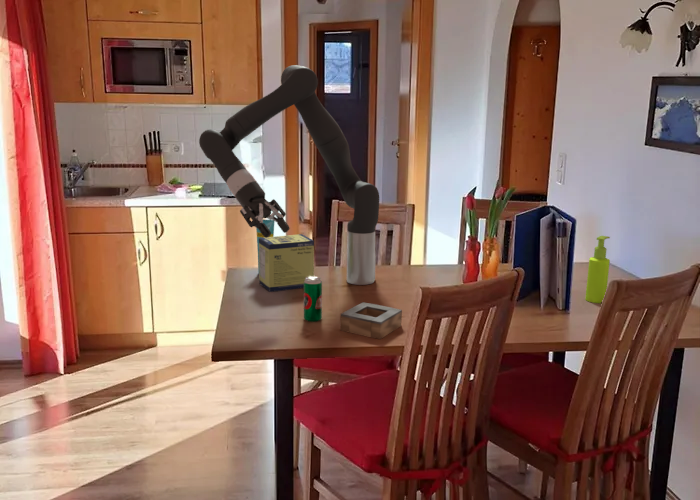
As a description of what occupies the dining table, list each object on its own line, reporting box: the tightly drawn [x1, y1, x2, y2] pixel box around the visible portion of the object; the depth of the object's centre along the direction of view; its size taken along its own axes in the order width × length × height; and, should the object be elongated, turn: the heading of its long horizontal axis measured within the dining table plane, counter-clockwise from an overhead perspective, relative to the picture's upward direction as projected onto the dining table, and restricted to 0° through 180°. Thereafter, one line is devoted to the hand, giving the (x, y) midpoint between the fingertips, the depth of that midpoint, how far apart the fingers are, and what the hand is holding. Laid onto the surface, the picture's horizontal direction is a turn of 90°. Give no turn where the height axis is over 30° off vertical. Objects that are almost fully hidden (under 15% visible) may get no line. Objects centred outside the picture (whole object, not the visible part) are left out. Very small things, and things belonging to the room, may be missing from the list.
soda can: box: [303, 275, 323, 323], centre depth 189 cm, size 5×5×12 cm
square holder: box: [339, 301, 403, 340], centre depth 184 cm, size 12×12×5 cm
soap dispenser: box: [584, 235, 611, 304], centre depth 209 cm, size 6×7×20 cm
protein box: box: [258, 233, 315, 293], centre depth 221 cm, size 10×16×16 cm
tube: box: [255, 218, 275, 273], centre depth 233 cm, size 7×5×19 cm, turn 72°
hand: (278, 233), depth 191 cm, fingers open, 8 cm apart
